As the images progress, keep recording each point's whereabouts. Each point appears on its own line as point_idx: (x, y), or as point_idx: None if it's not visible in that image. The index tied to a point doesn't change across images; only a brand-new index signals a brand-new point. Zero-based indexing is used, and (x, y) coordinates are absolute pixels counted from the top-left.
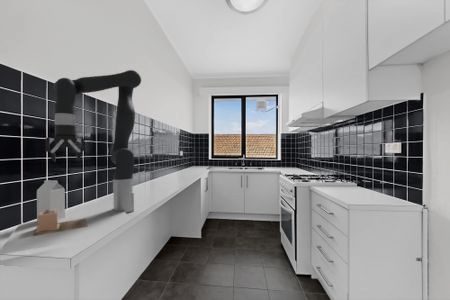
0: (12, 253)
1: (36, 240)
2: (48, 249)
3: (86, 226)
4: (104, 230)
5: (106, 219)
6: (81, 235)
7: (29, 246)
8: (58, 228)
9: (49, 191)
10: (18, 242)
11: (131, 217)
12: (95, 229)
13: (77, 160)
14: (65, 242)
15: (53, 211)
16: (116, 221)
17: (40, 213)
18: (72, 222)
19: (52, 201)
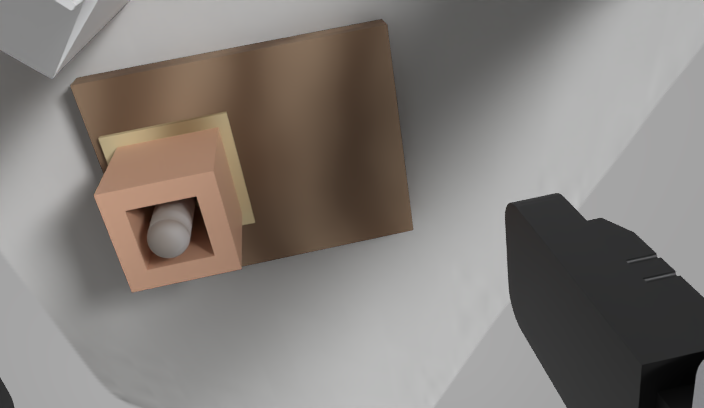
0: (143, 400)
1: (174, 284)
2: (278, 404)
3: (406, 230)
4: (491, 259)
5: (518, 22)
6: (384, 292)
7: (178, 350)
8: (253, 221)
9: (47, 75)
10: (88, 281)
11: (679, 54)
12: (447, 224)
13: (519, 307)
14: (327, 355)
15: (192, 194)
16: (572, 111)
17: (119, 240)
18: (304, 99)
19: (100, 22)
